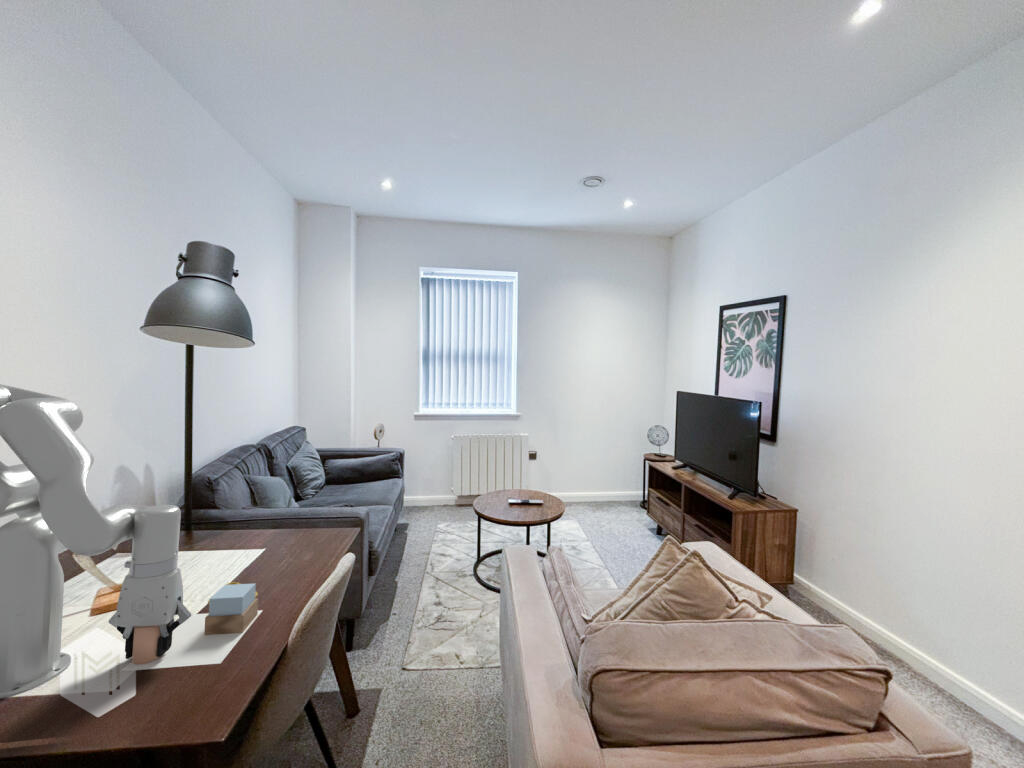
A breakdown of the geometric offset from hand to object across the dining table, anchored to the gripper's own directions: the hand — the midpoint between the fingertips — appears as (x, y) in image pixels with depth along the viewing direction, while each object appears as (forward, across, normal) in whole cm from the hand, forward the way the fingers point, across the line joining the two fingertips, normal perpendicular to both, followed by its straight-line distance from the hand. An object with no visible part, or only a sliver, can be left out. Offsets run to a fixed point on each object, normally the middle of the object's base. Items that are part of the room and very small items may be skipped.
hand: (148, 652), depth 86 cm
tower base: (+1, +11, +11) cm, 16 cm away
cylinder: (+1, 0, 0) cm, 1 cm away
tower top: (-3, +11, +11) cm, 16 cm away
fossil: (+2, +5, +26) cm, 26 cm away
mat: (+1, +7, +7) cm, 9 cm away
